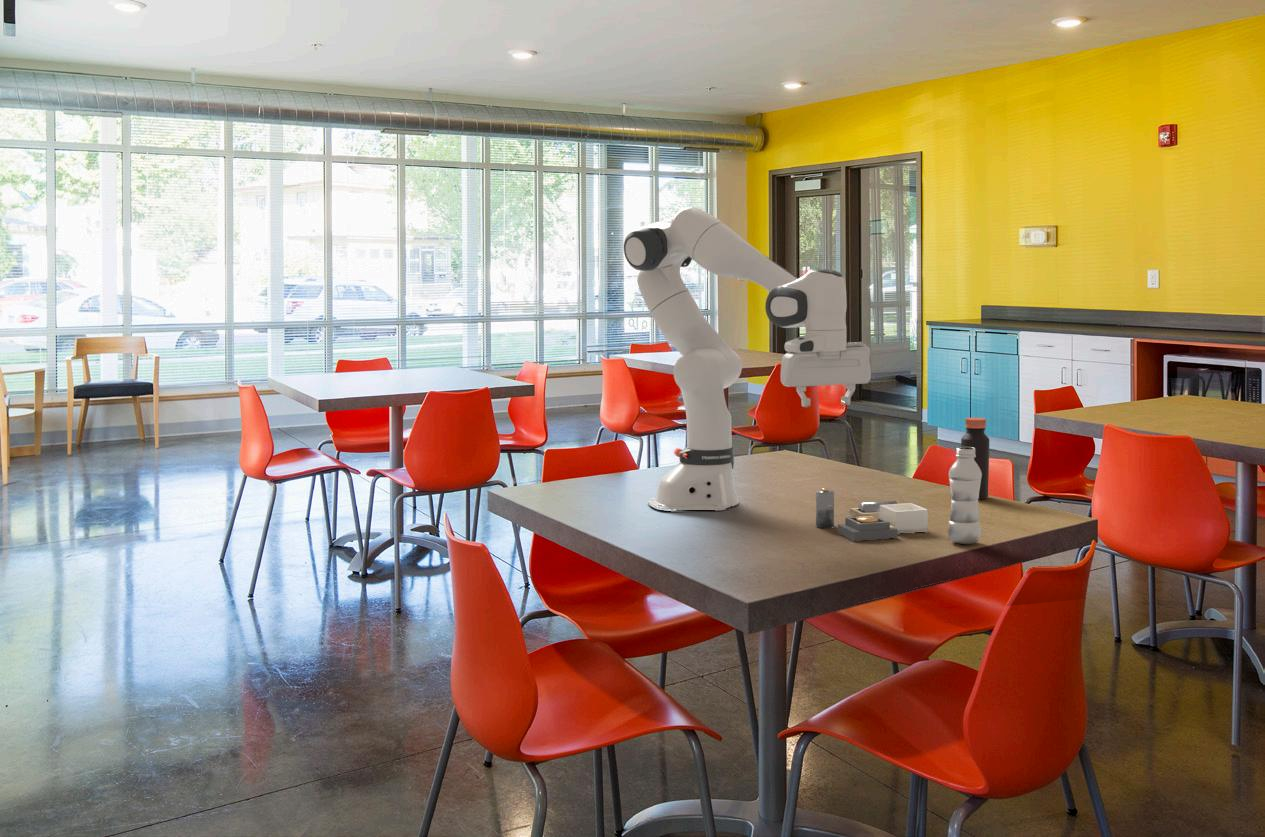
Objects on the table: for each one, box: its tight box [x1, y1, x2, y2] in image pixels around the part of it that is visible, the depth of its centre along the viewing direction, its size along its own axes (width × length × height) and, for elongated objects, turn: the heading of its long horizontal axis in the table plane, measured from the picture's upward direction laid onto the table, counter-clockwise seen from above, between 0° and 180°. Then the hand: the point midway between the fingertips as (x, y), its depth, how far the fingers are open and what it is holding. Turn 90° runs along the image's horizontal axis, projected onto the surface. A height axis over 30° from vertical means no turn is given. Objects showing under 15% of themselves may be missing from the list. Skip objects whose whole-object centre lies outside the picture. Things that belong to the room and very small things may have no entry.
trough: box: [849, 507, 880, 517], centre depth 240 cm, size 11×6×3 cm, turn 103°
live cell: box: [857, 500, 898, 513], centre depth 240 cm, size 9×4×4 cm, turn 103°
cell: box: [815, 487, 835, 529], centre depth 237 cm, size 4×4×9 cm
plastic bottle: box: [947, 446, 982, 545], centre depth 219 cm, size 6×7×20 cm
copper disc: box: [856, 516, 878, 523], centre depth 228 cm, size 5×5×1 cm
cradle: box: [837, 516, 898, 542], centre depth 228 cm, size 10×8×4 cm
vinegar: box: [960, 417, 990, 500], centre depth 266 cm, size 7×7×20 cm
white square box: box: [880, 502, 929, 535], centre depth 233 cm, size 8×8×5 cm
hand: (825, 405), depth 234 cm, fingers open, 8 cm apart
